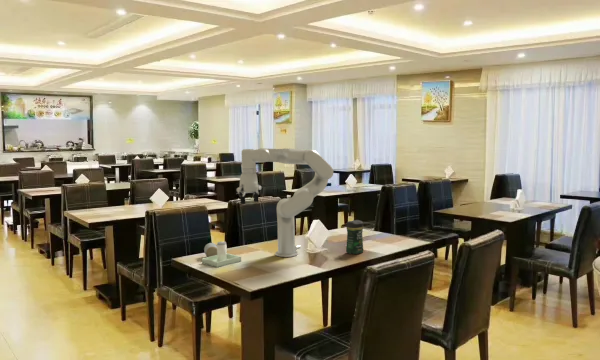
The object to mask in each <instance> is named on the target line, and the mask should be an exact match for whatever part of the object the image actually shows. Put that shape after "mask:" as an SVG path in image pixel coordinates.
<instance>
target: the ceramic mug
mask: <svg viewBox="0 0 600 360" xmlns="http://www.w3.org/2000/svg"><path fill="white" fill-rule="evenodd" d="M203 250H204V254H205V256H206V257H211V256H215V255H217V244H215V243H214V242H209V243H207V244H205V246H204V248H203Z"/></svg>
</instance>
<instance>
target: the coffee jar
mask: <svg viewBox="0 0 600 360" xmlns="http://www.w3.org/2000/svg"><path fill="white" fill-rule="evenodd" d="M363 230H364V222H363V221H362V220H359V219H353V220H348V221H347V222H346V233H347V234H346V247H345V248H346V253H348V254H349V255H351V254H352V255H353V254H354V255H359V254H361V253H363V252H364V241H363V232H364V231H363Z"/></svg>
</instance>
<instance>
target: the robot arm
mask: <svg viewBox="0 0 600 360" xmlns="http://www.w3.org/2000/svg"><path fill="white" fill-rule="evenodd" d="M256 162H257V163H266V162H267V163H268V162H270V163H281V164H286V165H287V164H288V165H308V167H310V168H311V170H313V172H314V176H313V178H312V180H310V181H309V182H307V184H305V185H303V186H302V187H300V188H299V189H296V191H294V194H293V196H292V197H290V198H282V199H280V200H279V201H278V202H277V204H276V218H277V219H276V220H277V223H276V224H277V251H276V252H274V255H275V256H277V257H280V258H290V257H291V258H292V257H296V256H297V255H298V254H299V252H298V250H300V249H301V245H296V244H295V243H296V240H295V239H296V238H295V237H296V235H295V231H296V230H295V228H296V227H295V226H296V225H295V216H297V215H299V214H300V213H302V212H303V211H304V210H306V209H308V208H309V207H310V206H311V205H312V204H313V201H314V198H315V197H317V196H318V195H320V194H321V193H322V192H323V191H324V190H325V188H326V187H327V185H328V182H329V180H331V178H332V177H333V176H334V168H333V167H332V166H331V165H330V164H329V163H328V162H327V160H325V159H324V158H323V156H321V155H320V153H319V152H318V151H316V150H314V149H309V148H307V149H305V148H303V149H302V148H262V147H260V148H258V149H257V148H256V149H255V148H254V149H253V148H244V149H242V150H241V174H240V178H239V187H237V188H236V192H237V194H238V196H239V197H240V204H242V205H245V204H246V194H247V193H253V202H255V203H259V195H260V192H262V191H261V190H262V186H261V185H260V184H259V182H258V181H259V180H258V175H257V172H258V171H257V168H256Z"/></svg>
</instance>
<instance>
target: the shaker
mask: <svg viewBox="0 0 600 360" xmlns="http://www.w3.org/2000/svg"><path fill="white" fill-rule="evenodd" d="M216 243H217V244H216V245H217V262H219V261H223V260H227V248H228V247H227V242H226V241H218V242H216Z"/></svg>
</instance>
